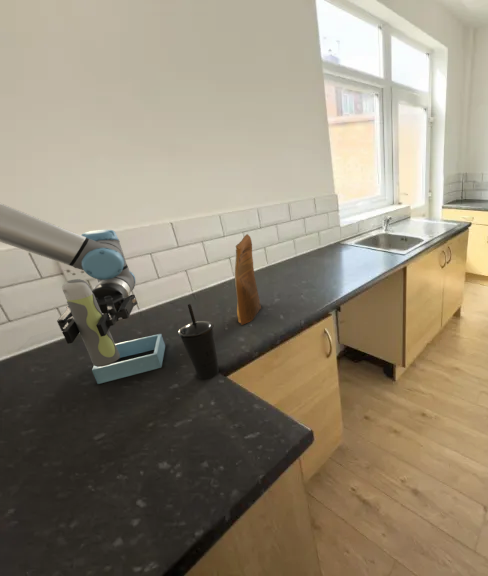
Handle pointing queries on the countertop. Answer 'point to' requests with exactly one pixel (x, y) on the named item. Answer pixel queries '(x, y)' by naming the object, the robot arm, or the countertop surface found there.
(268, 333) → the countertop surface
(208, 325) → the drinking cup
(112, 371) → the blue rectangular frame
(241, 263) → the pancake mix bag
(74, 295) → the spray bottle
